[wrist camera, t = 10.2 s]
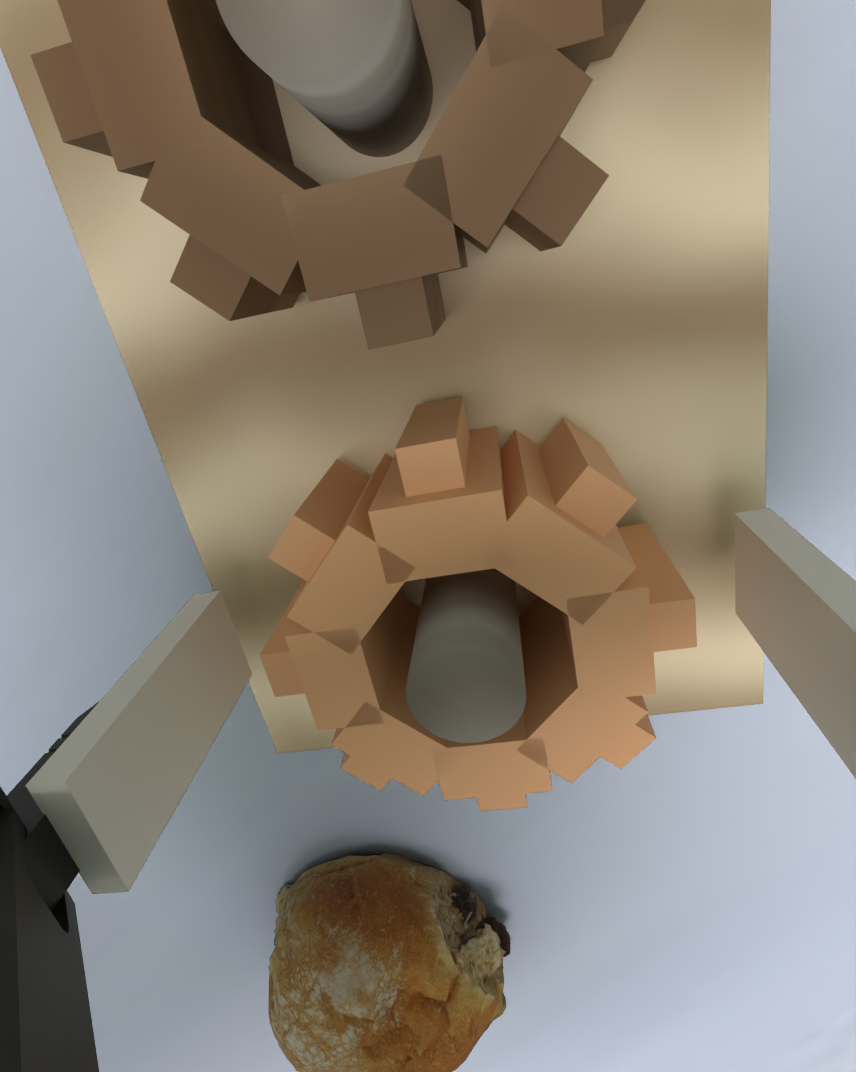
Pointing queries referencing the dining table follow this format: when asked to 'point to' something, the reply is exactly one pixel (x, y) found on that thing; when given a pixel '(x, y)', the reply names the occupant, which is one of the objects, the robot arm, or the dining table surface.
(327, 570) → the gear
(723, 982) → the dining table surface
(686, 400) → the peg board
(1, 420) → the dining table surface
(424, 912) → the bread roll
